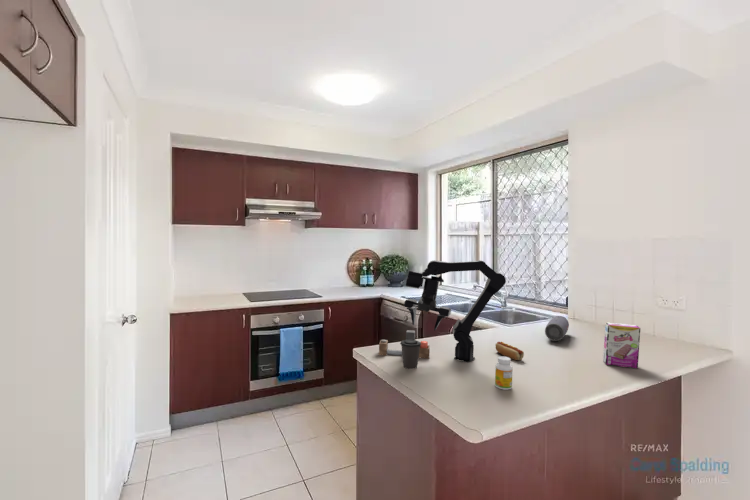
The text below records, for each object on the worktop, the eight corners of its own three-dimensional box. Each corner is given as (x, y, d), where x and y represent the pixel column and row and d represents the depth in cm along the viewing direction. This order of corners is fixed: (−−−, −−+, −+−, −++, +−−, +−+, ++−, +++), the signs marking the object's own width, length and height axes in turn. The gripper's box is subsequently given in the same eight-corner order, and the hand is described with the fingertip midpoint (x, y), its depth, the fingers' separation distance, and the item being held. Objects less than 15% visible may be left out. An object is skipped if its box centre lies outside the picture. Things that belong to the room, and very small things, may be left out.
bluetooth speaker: (564, 345, 173) (565, 324, 173) (543, 341, 178) (544, 321, 178) (569, 334, 192) (570, 315, 192) (550, 332, 197) (550, 313, 197)
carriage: (416, 353, 156) (416, 329, 156) (415, 357, 150) (416, 333, 150) (404, 352, 157) (405, 329, 157) (403, 356, 151) (404, 332, 151)
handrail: (418, 355, 154) (418, 351, 154) (418, 356, 152) (418, 352, 152) (387, 353, 156) (387, 349, 156) (386, 354, 154) (386, 350, 154)
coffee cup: (419, 371, 136) (420, 344, 135) (398, 369, 137) (398, 342, 137) (421, 363, 144) (422, 338, 143) (401, 362, 145) (401, 337, 145)
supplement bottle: (492, 383, 126) (493, 355, 125) (507, 383, 126) (508, 355, 126) (498, 390, 120) (499, 361, 120) (514, 390, 121) (515, 360, 120)
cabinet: (429, 354, 155) (429, 345, 155) (429, 358, 150) (429, 349, 150) (418, 354, 156) (418, 344, 155) (418, 357, 151) (418, 348, 150)
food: (492, 352, 161) (492, 341, 160) (502, 351, 163) (502, 339, 163) (515, 362, 148) (516, 350, 148) (526, 361, 150) (526, 349, 150)
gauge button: (427, 350, 154) (427, 341, 154) (427, 352, 151) (427, 343, 151) (420, 350, 154) (420, 340, 154) (420, 352, 151) (420, 342, 151)
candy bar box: (605, 365, 146) (607, 324, 146) (602, 361, 151) (604, 321, 150) (638, 369, 143) (641, 327, 142) (634, 365, 147) (636, 324, 147)
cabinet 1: (387, 351, 158) (387, 339, 157) (386, 355, 153) (386, 342, 152) (380, 351, 158) (380, 338, 158) (378, 355, 153) (379, 341, 153)
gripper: (403, 287, 147) (396, 325, 148) (449, 298, 140) (442, 337, 141) (410, 285, 158) (404, 320, 158) (454, 294, 151) (447, 331, 152)
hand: (423, 327), depth 152 cm, fingers open, 9 cm apart
